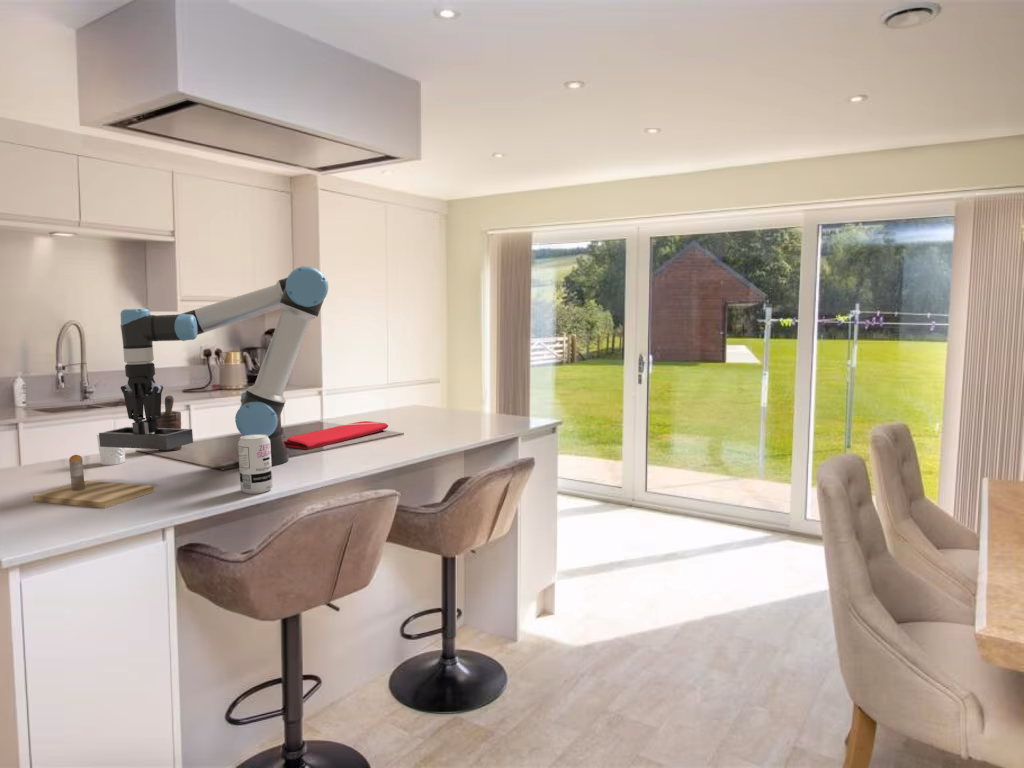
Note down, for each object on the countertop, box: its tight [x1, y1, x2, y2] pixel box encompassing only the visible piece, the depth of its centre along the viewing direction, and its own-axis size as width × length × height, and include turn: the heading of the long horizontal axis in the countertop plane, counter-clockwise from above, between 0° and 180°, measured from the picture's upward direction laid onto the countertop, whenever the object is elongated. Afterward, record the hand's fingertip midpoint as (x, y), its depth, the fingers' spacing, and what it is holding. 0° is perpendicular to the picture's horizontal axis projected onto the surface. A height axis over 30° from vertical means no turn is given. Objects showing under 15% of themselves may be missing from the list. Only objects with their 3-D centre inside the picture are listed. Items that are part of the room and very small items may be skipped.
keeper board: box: [32, 454, 156, 509], centre depth 186 cm, size 24×16×11 cm, turn 73°
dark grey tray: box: [98, 420, 194, 450], centre depth 202 cm, size 10×24×7 cm, turn 73°
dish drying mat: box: [283, 420, 389, 450], centre depth 263 cm, size 16×41×4 cm, turn 147°
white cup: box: [96, 430, 126, 466], centre depth 225 cm, size 8×8×10 cm
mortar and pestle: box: [157, 394, 182, 452], centre depth 244 cm, size 12×9×20 cm
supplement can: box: [237, 434, 274, 495], centre depth 189 cm, size 8×8×15 cm
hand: (147, 443), depth 202 cm, fingers closed on dark grey tray, 2 cm apart
